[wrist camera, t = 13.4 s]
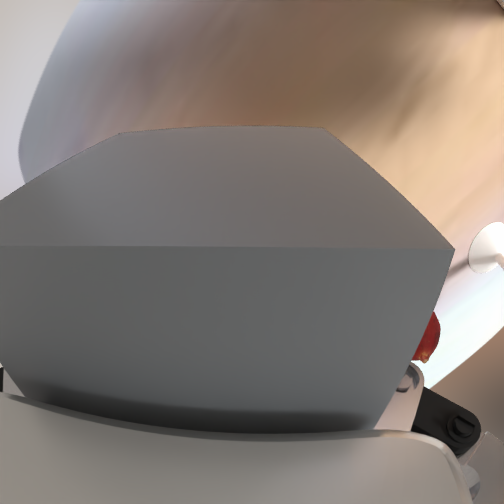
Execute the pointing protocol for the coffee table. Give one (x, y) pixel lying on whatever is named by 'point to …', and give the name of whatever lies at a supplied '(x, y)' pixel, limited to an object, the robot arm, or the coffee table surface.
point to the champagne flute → (487, 248)
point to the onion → (428, 340)
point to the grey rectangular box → (216, 282)
